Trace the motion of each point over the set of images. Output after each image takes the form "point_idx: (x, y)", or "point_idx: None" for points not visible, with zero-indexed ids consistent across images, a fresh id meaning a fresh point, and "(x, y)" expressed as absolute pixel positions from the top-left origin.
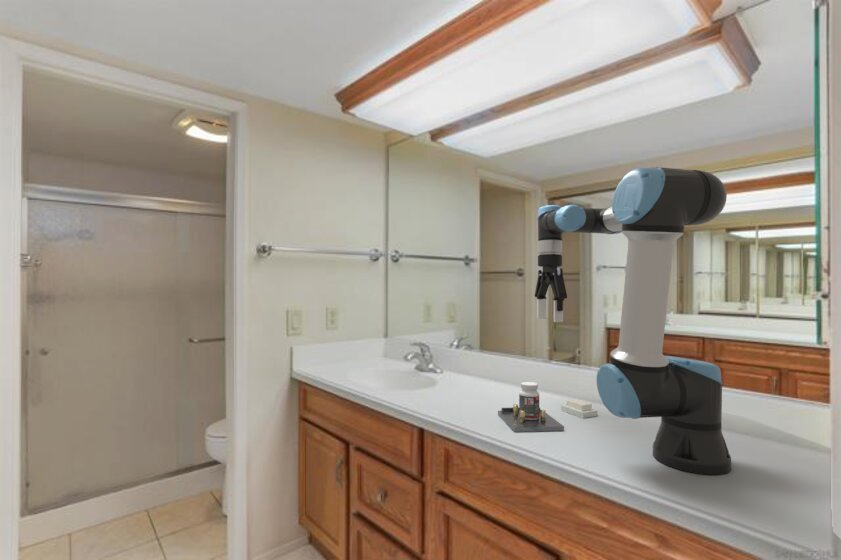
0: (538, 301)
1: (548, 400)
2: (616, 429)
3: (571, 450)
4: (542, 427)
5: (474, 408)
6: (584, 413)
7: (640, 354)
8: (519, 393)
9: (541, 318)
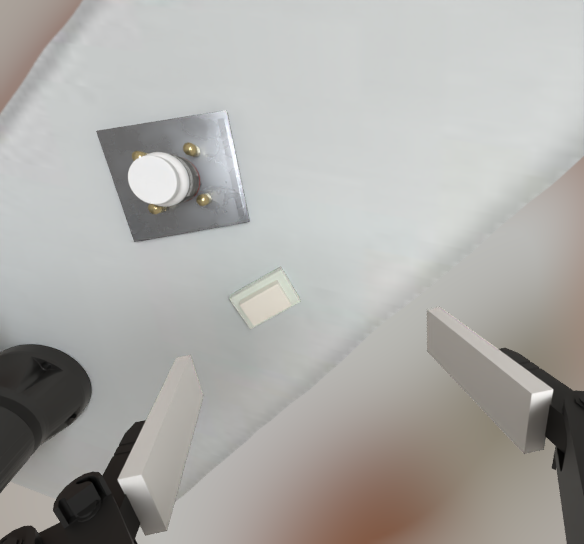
0: (513, 381)
1: (358, 256)
2: (171, 333)
3: (25, 226)
4: (119, 196)
5: (274, 51)
6: (231, 301)
7: None
8: (157, 152)
9: (427, 328)
